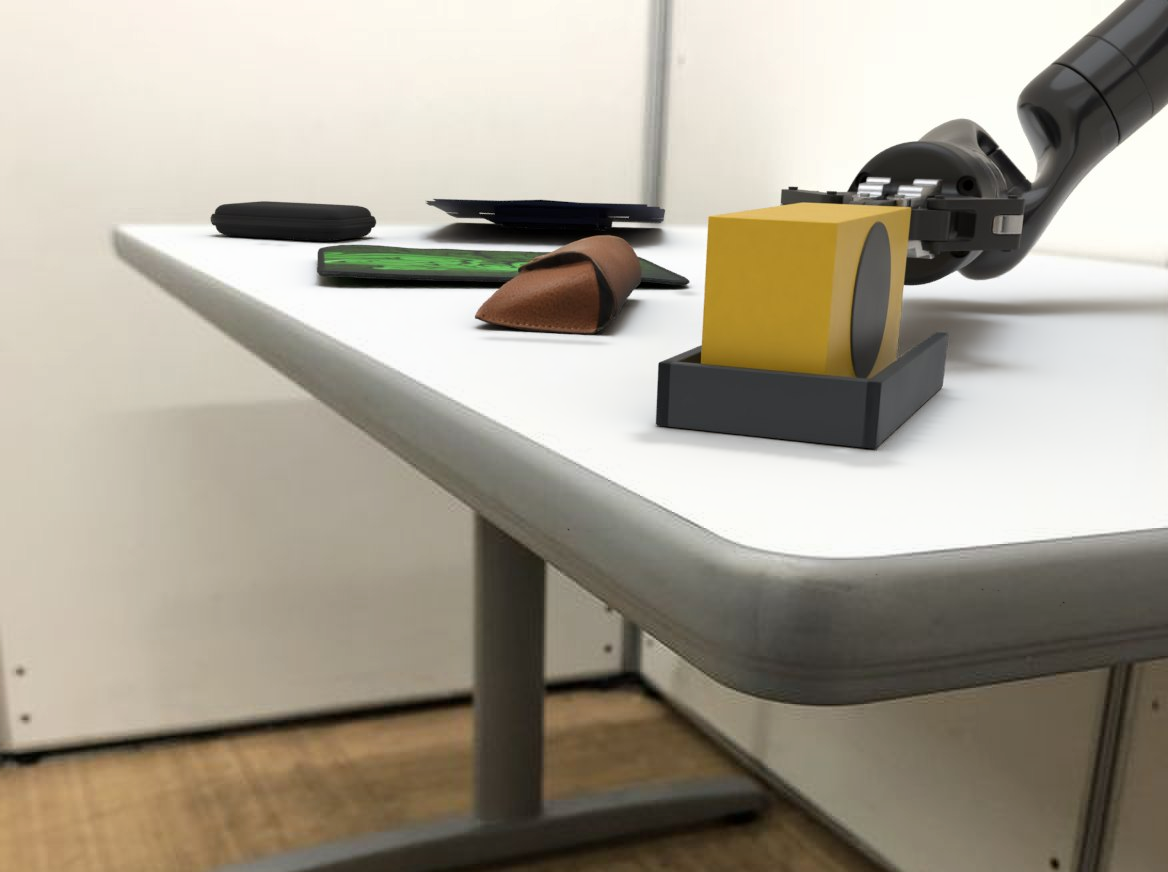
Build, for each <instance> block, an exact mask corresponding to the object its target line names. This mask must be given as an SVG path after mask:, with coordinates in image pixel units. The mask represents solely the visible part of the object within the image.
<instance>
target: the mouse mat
mask: <svg viewBox="0 0 1168 872" xmlns="http://www.w3.org/2000/svg"><path fill="white" fill-rule="evenodd" d="M550 252H551V251H526V250H525V251H521V250H485V249H483V250H481V249H461V248H460V249H459V248H418V247H417V248H416V247H403V246H402V247H401V246H390V245H389V246H388V245H377V244H375V245H374V244H338V245H329V246H328V245H327V246H323V247H320V248H319V249H318V251H317V263H316V264H317V267H316V272H317V274H318V275H319V276H321V277H336V278H337V277H340V278H341V277H342V278H356V279H357V278H358V279H376V280H377V279H378V280H380V279H381V280H401V281H438V282H483V283H484V282H485V283H487V282H488V283H489V282H490V283H507V282H508V281H510V280H511V279H513V278H515V277H516V276H518V268H519V267H520V266H523V265H525V264H526V263H528V262H530V261H532V260H533V259H534V258H535V257H539V256H542V255H546V254H548V253H550ZM637 257H638V260H639V261H640V266H641V268H642V271H641V274H642V275H641V282H642V283H651V284H652V283H653V284H664V285H666V284H667V285H672V286H673V285H674V286H687V285H689V284H690V282H691V281H690V280H689V279H688V278H687V277H686V276H683V275H681V274H678V273H677V272H674V271H672V270H670V269H668V268H665V267H663V266H661V265H658V264H656V263H654V262H653V261H650V260H648V259H647V258H644V257H641V256H638V255H637Z"/></svg>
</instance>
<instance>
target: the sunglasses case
mask: <svg viewBox="0 0 1168 872" xmlns="http://www.w3.org/2000/svg"><path fill="white" fill-rule="evenodd" d="M549 252H550V253H548V254H546V255H542V256H539V257H535V258H534V259H533V260H532V261H530V262H528V263H526V264H525V265H523V266H520V267H519V268H518V276H516V277H515V278H513V279H511V280H510V281H508V282H505V283H504V284H502V286H500V288H498V289H497V290H496V291H495V292H494V293H493V294H492V295H491V296H490V297H488V298H487V300H485V302H483V303H482V304H481V306H480V307H478V309H477V311H476V313H475V314H474V320H479V321H481V322H483V323H486V324H490V325H491V324H492V325H496V326H503V327H508V328H512V329H517V330H523V331H529V332H540V333H541V332H543V333H561V334H575V335H576V334H577V335H579V334H581V335H583V334H586V335H594V334H596V333H598V332H599V331H602V330H604V329H605V328H606V327H608V326H609V325H610V324H611V322H612V321H613V320H614V319H616V320H617V318H618V316H619V315H620V313H621V311H622V308H623V306H624V305H625V304H626V302H627V300H628V298H629V297H630V296H631V295H632V293H633V292H634V291H635V289H636V288H637V287H638V286H639V285H640V284H641V275H642V274H641V271H642V268H641V266H640V261H639V260H638V257H639V256H638V255H637V253H636V252H635V250H634V248H633V247H632V245H630V244H629V242H628V241H626V240H625V239H624V238H622V237H620V236H615V235H611V234H605V235H604V234H602V235H593V236H588V237H584V238H581V239H579V240H575V241H573V242H570V243H567V244H565V245H563V246H561V247H558V248H556V249H555V250H553V251H549ZM637 256H638V257H637Z"/></svg>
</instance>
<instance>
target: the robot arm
mask: <svg viewBox="0 0 1168 872" xmlns="http://www.w3.org/2000/svg"><path fill="white" fill-rule="evenodd" d="M1167 105H1168V0H1124V1H1123V2H1122V3H1120V4H1119V5H1118V6H1117V7H1115V9H1114V10H1112V11H1111V13H1109V14H1108V15H1107V16H1106V17H1105V18H1104V19H1103V20H1101V21H1100V22H1099V23H1097V24H1096V25H1095V27H1093V28H1092V29H1091V30H1090V31H1088V32H1087V33H1086V34H1085V35H1083V36H1082V37H1081V38H1080V39H1079V40H1078V41H1076V42H1075V43H1074V44H1073V45H1072V46H1070V48H1068V49H1067V50H1065V52H1064V53H1062V54H1061V55H1060V56H1059V57H1058V58H1056V59H1055V60H1054V61H1052V63H1050V64H1049V65H1048V66H1047V67H1046V68H1045V69H1043V70H1042V71H1040V72H1039V73H1037V75H1036V76H1035V77H1034V78H1032V80H1030V81H1029V82H1028V83H1027V84H1026V85H1025V86H1024V88H1023V89H1022V90H1021V91H1020V93H1019V95H1018V97H1017V101H1016V115H1017V119H1018V121H1019V124H1020V126H1021V129H1022V131H1023V134H1024V135H1025V137H1026V139H1027V142H1028V143H1029V146H1030V148H1031V150H1032V153H1033V155H1034V158H1035V162H1036V172H1035V177H1034V180H1033V181H1032V182H1031V181H1030V180H1029V179H1028V178H1027V177H1026V175H1025V174H1024V173H1023V172H1022V171H1021V169H1020V168H1019V167H1018V166H1017V165H1016V164H1015V163H1014V161H1012V159H1011V158H1010V157H1009V156H1008V155H1007V153H1006V152H1005V151H1004V150H1003V149H1002V148H1000V145H999V143H998V142H997V141H996V140H995V139H994V138H993V137H992V135H991V134H990V133H989V132H987V130H986V129H985V128H984V127H982V126H981V125H980V124H978V123H977V122H975V121H974V120H972V119H969V118H955V119H951V120H948V121H945V122H943V123H941V124H938V125H937V126H935V127H933V128H932V129H930V130H929V131H927V132H926V133H925V134H924V135H922V136H921V137H920V138H919V139H918V140H914V141H913V140H912V141H906V142H901V143H897V144H895V145H892V146H889V147H887V148H885V149H883V150H881V151H880V152H878V153H877V154H876V155H874V156H873V157H872V158H871V159H869V161H867V162H866V163H865V164H864V165H863V166H862V168H861V169H860V170H859V172H858V173H857V174H856V176H855V177H854V179H853V180H852V182H851V184H850V185H849V187H848V189H847V190H846V191H837V190H826V192H824V191H819V190H807V189H799V186H788V188H782V189H781V191H780V204H779V206H782V205H789V204H796V203H803V202H804V203H826V204H849V205H871V206H893V207H910V208H911V216H910V226H909V236H908V247H907V257H906V267H905V278H904V286H921V285H928V284H931V283H933V282H936V281H937V282H938V281H939V280H942V279H944V278H945V277H947V276H950V275H951V274H953V273H955V272H957V273H959V274H960V275H961V276H962V277H963V278H965V279H968V280H971V281H987V280H993V279H996V278H999V277H1001V276H1004V275H1005V274H1007V273H1009V272H1011V271H1012V270H1014V268H1017V266H1018V265H1019V264H1020V263H1022V262H1023V260H1024V259H1025V258H1026V257H1027V256H1028V255H1029V254H1030V252H1031V251H1032V250H1033V248H1034V247H1035V246H1036V244H1038V242H1039V240H1040V239H1041V238H1042V236H1043V234H1044V233H1045V231H1046V230H1047V228H1049V225H1050V224H1051V223H1052V221H1053V219H1054V218H1055V217H1056V215H1057V214H1058V212H1059V211H1060V209H1061V208H1062V206H1063V205H1064V203H1065V202H1066V201H1067V200H1068V198H1069V197H1070V196H1071V195H1072V193H1073V192H1074V191H1075V189H1076V188H1077V187H1078V186H1079V185H1080V184H1081V183H1082V181H1083V180H1084V179H1085V178H1086V177H1087V176H1088V175H1089V174H1090V172H1092V171H1093V169H1095V168H1096V166H1098V165H1099V164H1100V163H1101V162H1102V161H1103V160H1104V159H1105V158H1106V157H1107V156H1109V155H1110V154H1111V153H1112V152H1113V151H1114V150H1116V148H1118V147H1119V146H1120V145H1122V144H1123V143H1125V141H1126V140H1128V139H1129V138H1130V137H1131V136H1133V134H1135V133H1136V132H1137V131H1138V130H1140V129H1141V128H1142V127H1143V126H1145V125H1146V124H1147V123H1148V122H1149V121H1151V120H1152V119H1153V118H1154V117H1155V116H1157V115H1158V114H1159V113H1160V112H1161V111H1162V110H1163V109H1164V108H1165V107H1166V106H1167Z"/></svg>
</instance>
